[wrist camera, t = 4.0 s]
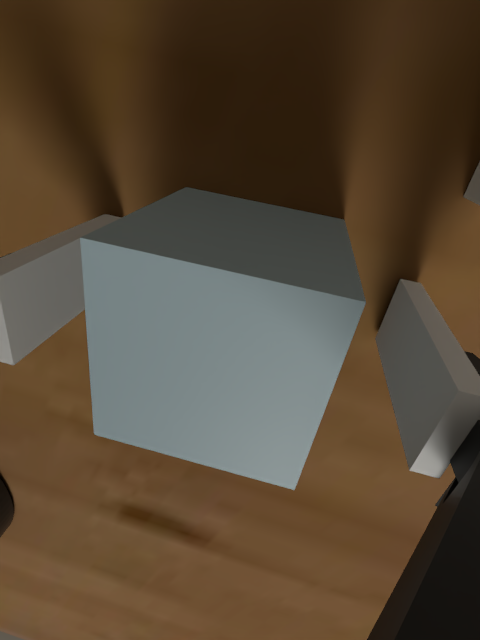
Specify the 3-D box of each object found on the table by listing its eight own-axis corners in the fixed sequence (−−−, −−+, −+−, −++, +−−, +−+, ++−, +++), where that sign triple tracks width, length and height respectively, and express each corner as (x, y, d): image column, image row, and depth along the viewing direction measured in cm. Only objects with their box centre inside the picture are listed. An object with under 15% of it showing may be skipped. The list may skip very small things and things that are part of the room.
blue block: (176, 321, 17) (94, 434, 11) (186, 186, 14) (80, 237, 7) (303, 351, 16) (294, 489, 10) (344, 219, 13) (366, 302, 7)
